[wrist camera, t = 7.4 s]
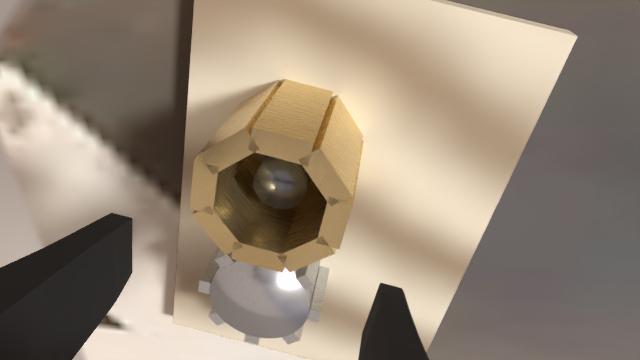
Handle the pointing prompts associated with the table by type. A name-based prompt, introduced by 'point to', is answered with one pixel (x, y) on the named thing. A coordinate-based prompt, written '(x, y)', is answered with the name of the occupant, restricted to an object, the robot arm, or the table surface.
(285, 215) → the octagonal wooden pipe
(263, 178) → the pin
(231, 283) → the sun gear
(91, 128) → the table surface
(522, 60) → the plate
